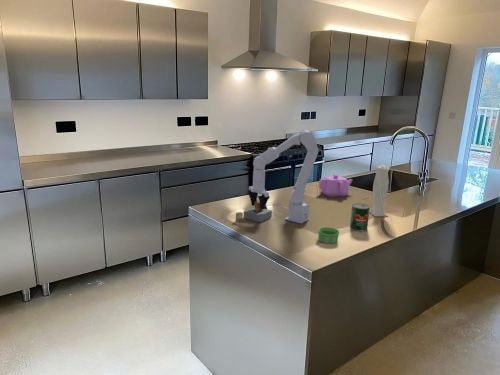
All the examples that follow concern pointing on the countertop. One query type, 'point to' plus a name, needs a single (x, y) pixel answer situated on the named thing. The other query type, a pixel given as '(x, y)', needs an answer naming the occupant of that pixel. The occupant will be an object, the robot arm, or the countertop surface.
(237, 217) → the birch peg
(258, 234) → the countertop surface
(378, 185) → the skyscraper
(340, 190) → the teakettle
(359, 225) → the canned tomato
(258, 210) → the walnut peg
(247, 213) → the hole block
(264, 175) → the robot arm
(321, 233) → the ramekin
